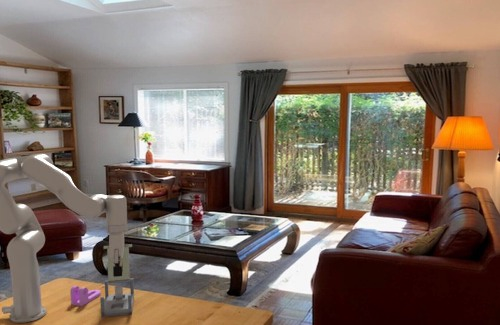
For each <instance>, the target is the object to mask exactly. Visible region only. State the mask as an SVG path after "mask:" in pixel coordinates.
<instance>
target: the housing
mask: <svg viewBox="0 0 500 325" xmlns="http://www.w3.org/2000/svg"><path fill="white" fill-rule="evenodd" d="M129 284H130V292H126V293H124V292H123V289H124V288H123V286H122V285H115V286H114V293H113V294H109V283H108V279H107V280H104V294H105V295H104V296H100V298H99V301H100V315H101V318H103V317H104V318H106V317H114V316H116V317H117V316H125V315H132V314H133V309H134V308H133V307H134V301H135V290H134V278H131V277H130V282H129Z"/></svg>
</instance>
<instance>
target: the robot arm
mask: <svg viewBox="0 0 500 325" xmlns="http://www.w3.org/2000/svg"><path fill="white" fill-rule="evenodd" d="M26 178H27V179H29V180H31V181H33V182H35V183H37V185H39V186H41V187H42V188H45V189H46V190H48V191H49V192H51V193H52V194H54V195H55V196H56V197H57V199H59V200H60V202H61V203H63V204H64V205H65V207H66V208H68V209H69V210H71V211H72V212H75V213H76V214H77V215H79V216H81V217H82V218H84V219H88V220H94V219H97V218H98V217H100V216H101V215H102V214H104V213H105V218H106V219H105V220H106V233H107V234H108V235H109V237H108V238H109V240H108V241H109V243H108V246H109V259H110V260H111V259H113V260H114V266H113V276H114V277H118V276H122V272H123V262H122V266H121V260H122V258H123V254H124V245H125V233H127V232H128V206H127V197H126V196H125V195H122V194H113V195H109V194H108V195H107V194H106V195H105V194H98V193H97V194H95V193H94V194H93V195H91V196H89V195H87V194H85V193H84V192H82V191H81V190H80V189H78V187H77V186H76V185H75V184H74V181H73V179H72V177H71V175H70V174H68V173H67V172H65V171H63V170H61V169H60V168H59V167H56V166H55V165H54V162H53V160H52V158H51V157H50V156H48V155H47V154H45V153H37V154H36V153H35V154H30V155H23V156H16V157H9V158H5V159H1V160H0V231H1V233H3V234H4V235H12V234H15V235H16V236H15V237H13V238H12V239H10V241H9V242H8V245H7V246H6V257H7V259H8V263H9V264H8V265H9V269H10V278H11V279H10V280H11V290H12V304H11V305H9V306H8V305H6V306H5V305H4V306H2V307H1V312H2V313H3V314H4V315H5V314H6V315H7V314H9V320H10V322H13V323H17V324H18V323H19V324H23V323H24V324H25V323H29V322H34V321H37V320H39V319H42V317H44V316H45V315H46V314H47V308H46V307H45V306H44V305H43V304H42V291H41V278H40V277H41V276H40V267H39V266H40V265H39V262H38V259H37V253H38V252H39V251H41V249H42V248H43V247H44V245H45V242H46V236H45V234H44V231H43V228H42V227H41V225H40V222H39V221H38V218H37V217H36V215H35V213H34V211H33V210H32V208H31V207H30V206H28V205H27V204H24V203H17V202H16V201H15V200H14V197H13V195H12V194H11V192H10V191H9V190H8V189H7V187H6V186H5V185H6V184H7V183H9V182H13V181H15V180H19V179H20V180H21V179H26ZM119 260H120V261H119Z"/></svg>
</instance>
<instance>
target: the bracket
mask: <svg viewBox="0 0 500 325" xmlns="http://www.w3.org/2000/svg"><path fill="white" fill-rule="evenodd" d="M69 292H70V305H74V306H79V307H83V306H85V305H87V304H88V303H90V302H91V301H93V300H95V299H96V298H98V297H99V296H100V297H101V294H102V292H101V290H100V289H91V290H89V288H87V287H85V286H82V287H81V288H80V286H78V285H73V286H72V287H71V288H70V291H69Z"/></svg>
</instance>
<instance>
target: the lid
mask: <svg viewBox="0 0 500 325" xmlns="http://www.w3.org/2000/svg"><path fill="white" fill-rule="evenodd" d="M132 247H133V244H132V243H131V244H124V254H123V258H122V262H123V272H122V276H118V277H114V276H113V266H114V260H113V259H111V260H110V259H109V245H104V246H103V250H106V249H107V278H108V279H107V280H108V284H118V283H130V278H131V277H130V276H131V274H130V248H132Z"/></svg>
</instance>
